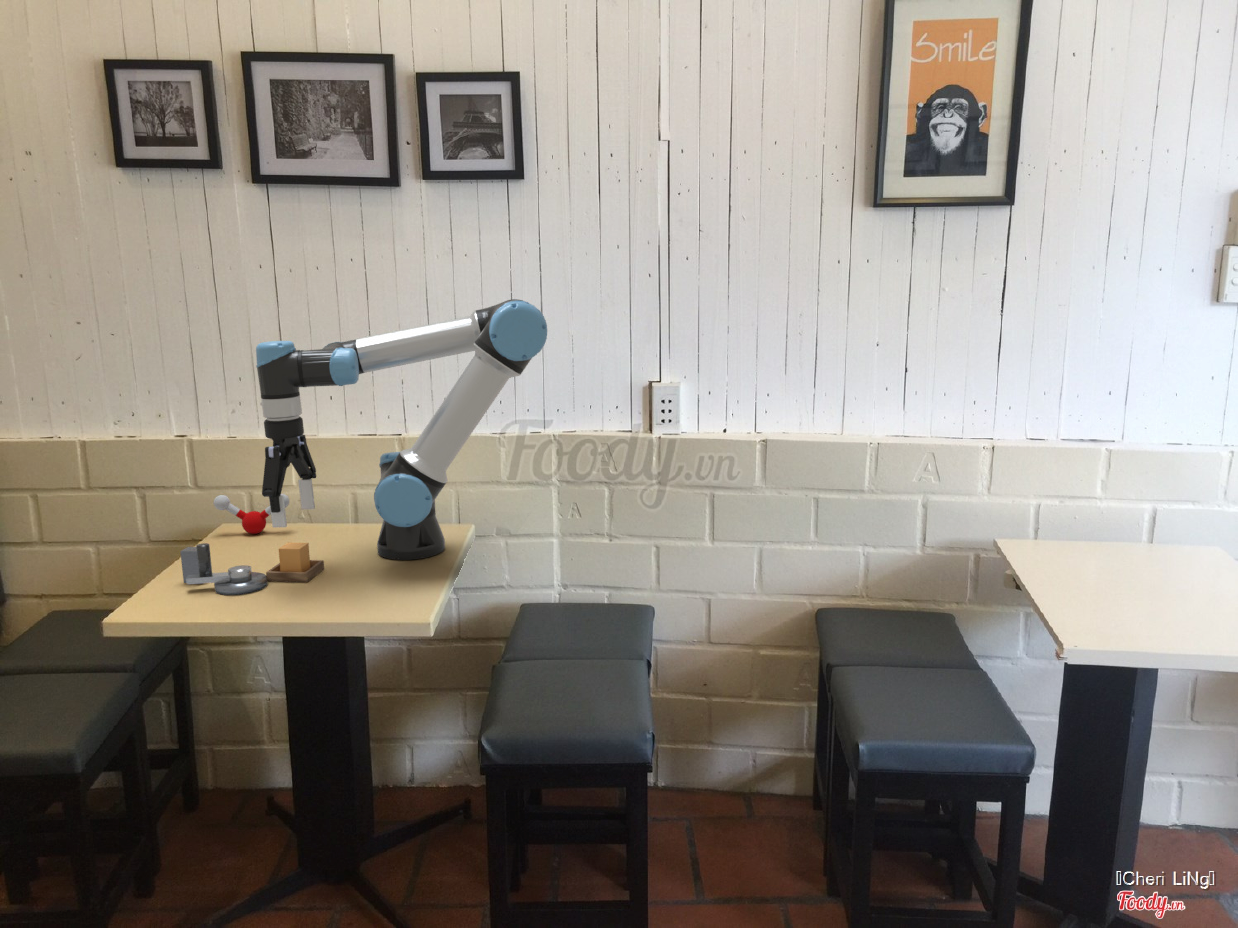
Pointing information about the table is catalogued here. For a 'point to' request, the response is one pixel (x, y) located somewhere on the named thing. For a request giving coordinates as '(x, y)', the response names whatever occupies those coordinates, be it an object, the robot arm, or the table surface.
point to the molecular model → (247, 514)
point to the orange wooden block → (294, 557)
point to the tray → (295, 573)
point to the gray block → (189, 562)
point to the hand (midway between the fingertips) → (294, 517)
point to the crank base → (242, 585)
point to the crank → (206, 576)
